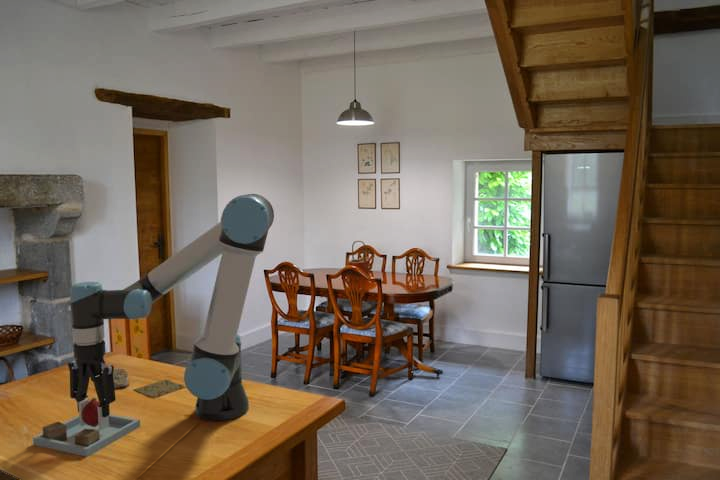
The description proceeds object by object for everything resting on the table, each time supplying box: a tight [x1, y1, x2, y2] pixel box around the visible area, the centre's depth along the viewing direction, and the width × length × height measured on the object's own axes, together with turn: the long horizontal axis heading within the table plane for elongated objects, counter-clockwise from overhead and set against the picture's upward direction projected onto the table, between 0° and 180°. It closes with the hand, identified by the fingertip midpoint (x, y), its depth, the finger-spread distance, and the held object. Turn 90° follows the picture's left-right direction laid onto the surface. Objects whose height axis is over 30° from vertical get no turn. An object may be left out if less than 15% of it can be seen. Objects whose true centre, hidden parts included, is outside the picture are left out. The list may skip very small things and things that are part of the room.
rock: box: [113, 368, 130, 389], centre depth 188 cm, size 9×6×10 cm
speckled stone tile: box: [132, 379, 187, 400], centre depth 185 cm, size 12×12×1 cm
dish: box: [32, 413, 141, 458], centre depth 150 cm, size 18×18×2 cm
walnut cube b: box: [42, 421, 67, 442], centre depth 147 cm, size 4×4×4 cm
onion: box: [82, 396, 100, 427], centre depth 152 cm, size 6×6×8 cm
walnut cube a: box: [74, 429, 100, 447], centre depth 143 cm, size 4×4×4 cm
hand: (94, 425), depth 152 cm, fingers closed on onion, 6 cm apart
